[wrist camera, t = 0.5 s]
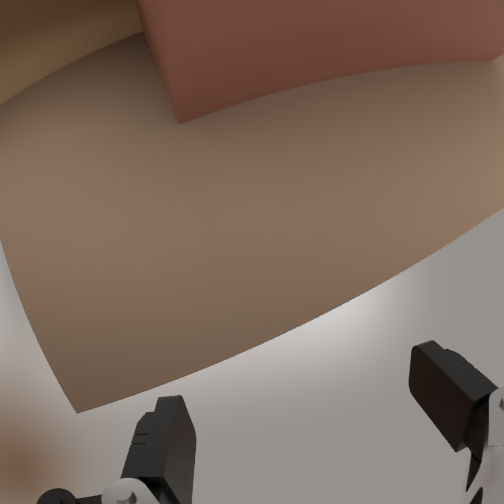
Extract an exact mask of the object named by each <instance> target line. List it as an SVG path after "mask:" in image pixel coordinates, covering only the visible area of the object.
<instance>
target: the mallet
mask: <svg viewBox="0 0 504 504" xmlns="http://www.w3.org/2000/svg"><path fill="white" fill-rule="evenodd" d="M142 31H143V33H144V35H145V38H146V41H147V43H148V46H149V48H150V51H151V53H152V56H153V59H154V61H155V64H156V66H157V69H158V71H159V74H160V76H161V79H162V81H163V84H164V86H165V89H166V91H167V94H168V96H169V99H170V101H171V104H172V106H173V109H174V111H175V114H176V116H177V119H178V121H179V124H182V123H185V122H187V121H190V120H193V119H195V118H198V117H201V116H204V115H206V114H209V113H212V112H215V111H218V110H221V109H224V108H227V107H230V106H233V105H236V104H239V103H242V102H245V101H249V100H252V99H255V98H259V97H262V96H266V95H269V94H273V93H276V92H280V91H284V90H287V89H291V88H295V87H299V86H303V85H307V84H311V83H316V82H320V81H325V80H329V79H334V78H339V77H344V76H349V75H354V74H360V73H365V72H371V71H377V70H384V69H391V68H398V67H406V66H414V65H423V64H434V63H446V62H462V61H493V60H495V59H496V58H498V57H500V56H501V55H503V54H504V0H0V105H1V104H3V103H4V102H6V101H7V100H9V99H10V98H12V97H13V96H15V95H16V94H18V93H19V92H21V91H22V90H24V89H26V88H27V87H29V86H30V85H32V84H34V83H35V82H37V81H39V80H40V79H42V78H44V77H46V76H47V75H49V74H51V73H53V72H54V71H56V70H58V69H60V68H62V67H64V66H66V65H67V64H69V63H71V62H73V61H75V60H77V59H79V58H81V57H83V56H85V55H87V54H90V53H92V52H94V51H96V50H98V49H100V48H103V47H105V46H107V45H110V44H112V43H114V42H117V41H119V40H122V39H124V38H127V37H129V36H132V35H134V34H137V33H140V32H142Z"/></svg>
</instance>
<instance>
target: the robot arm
mask: <svg viewBox="0 0 504 504" xmlns="http://www.w3.org/2000/svg"><path fill="white" fill-rule="evenodd" d="M409 389H410V392H411V394H412V396H413V397H414V398H415V400H416V401H417V402H418V404H419V405H420V406H421V407H422V409H423V410H424V411H425V413H426V414H427V415H428V417H429V418H430V419H431V420H432V422H433V423H434V424H435V426H436V427H437V428H438V429H439V431H440V432H441V434H442V435H443V436H444V437H445V439H446V440H447V441H448V443H449V444H450V445H451V447H452V448H453V449H454V451H455V452H458V451H460V450H462V449H464V448H466V447H468V448H469V450H470V452H469V455H468V460H467V467H466V473H465V480H464V485H463V490H462V495H461V499H460V503H459V504H504V387H502V388H498V387H497V386H496V385H494V384H493V383H492V382H491V381H490V380H489V379H488V378H487V377H485V376H484V375H483V374H482V373H481V372H480V371H479V370H477V369H476V368H474V366H473V365H472V364H470V363H469V362H467V360H466V359H465V358H464V357H462V356H461V355H460V354H459V353H456V352H454V351H452V350H449V349H445V350H444V349H443V348H442V347H441V346H440V345H438V344H437V343H436V342H435V341H433V340H431V341H428V342H425V343H422V344H419V345H416V346H414V347H413V348H412V351H411V362H410V372H409ZM131 443H132V445H130V448H129V452H128V455H127V458H126V461H125V465H124V468H123V472H122V475H121V478H120V479H118V480H115V481H114V482H112V483H110V484H109V485H108V486H107V487H106V488H105V489H104V491H103V493H102V494H101V495H97V496H91V497H85V498H78V499H76V498H75V496H74V495H73V494H72V493H71V492H69V491H68V490H65V489H61V488H58V489H57V488H56V489H51V490H49V491H47V492H45V493H44V494H43V495H42V496H41V497H40V498H39V500H38V502H37V504H192V490H193V477H194V465H195V453H196V434H195V429H194V426H193V423H192V421H191V418H190V416H189V413H188V411H187V408H186V405H185V402H184V400H183V398H182V396H181V395H177V396H166V397H159V398H158V400H157V403H156V408H155V411H154V412H146V413H145V415H144V416H143V417H142V418H141V419H140V420H139V421H138V423H137V426H136V429H135V433H134V436H133V439H132V442H131Z"/></svg>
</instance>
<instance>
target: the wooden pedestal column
mask: <svg viewBox="0 0 504 504" xmlns="http://www.w3.org/2000/svg"><path fill="white" fill-rule="evenodd" d="M503 207H504V54H503V55H501V56H500V57H498V58H496V59H495V60H493V61H462V62H446V63H434V64H423V65H414V66H406V67H398V68H391V69H384V70H377V71H371V72H365V73H360V74H354V75H349V76H344V77H339V78H334V79H329V80H325V81H320V82H316V83H311V84H307V85H303V86H299V87H295V88H291V89H287V90H284V91H280V92H276V93H273V94H269V95H266V96H262V97H259V98H255V99H252V100H249V101H245V102H242V103H239V104H236V105H233V106H230V107H227V108H224V109H221V110H218V111H215V112H212V113H209V114H206V115H204V116H201V117H198V118H195V119H193V120H190V121H187V122H185V123H182V124H179V121H178V119H177V116H176V114H175V111H174V109H173V106H172V104H171V101H170V99H169V96H168V94H167V91H166V89H165V86H164V84H163V81H162V79H161V76H160V74H159V71H158V69H157V66H156V64H155V61H154V59H153V56H152V53H151V51H150V48H149V46H148V43H147V41H146V38H145V35H144V33H143V31H142V32H140V33H137V34H134V35H132V36H129V37H127V38H124V39H122V40H119V41H117V42H114V43H112V44H110V45H107V46H105V47H103V48H100V49H98V50H96V51H94V52H92V53H90V54H87V55H85V56H83V57H81V58H79V59H77V60H75V61H73V62H71V63H69V64H67V65H66V66H64V67H62V68H60V69H58V70H56V71H54V72H53V73H51V74H49V75H47V76H46V77H44V78H42V79H40V80H39V81H37V82H35V83H34V84H32V85H30V86H29V87H27V88H26V89H24V90H22V91H21V92H19V93H18V94H16V95H15V96H13V97H12V98H10V99H9V100H7V101H6V102H4V103H3V104H1V105H0V239H1V243H2V246H3V250H4V253H5V256H6V260H7V263H8V266H9V269H10V272H11V275H12V278H13V281H14V284H15V287H16V289H17V292H18V295H19V297H20V300H21V303H22V305H23V308H24V310H25V313H26V315H27V318H28V320H29V322H30V325H31V327H32V329H33V332H34V334H35V336H36V338H37V341H38V343H39V345H40V347H41V349H42V351H43V353H44V355H45V357H46V359H47V361H48V363H49V365H50V367H51V369H52V371H53V373H54V375H55V376H56V378H57V380H58V382H59V384H60V386H61V388H62V389H63V391H64V393H65V395H66V396H67V398H68V400H69V401H70V403H71V405H72V407H73V408H74V410H75V411H76V413H80V412H84V411H87V410H90V409H93V408H97V407H100V406H103V405H106V404H109V403H112V402H115V401H118V400H121V399H124V398H127V397H130V396H133V395H136V394H138V393H141V392H144V391H147V390H150V389H152V388H155V387H158V386H160V385H163V384H166V383H168V382H171V381H174V380H176V379H179V378H181V377H184V376H187V375H189V374H192V373H194V372H197V371H199V370H202V369H204V368H207V367H209V366H211V365H214V364H216V363H218V362H221V361H223V360H226V359H228V358H230V357H233V356H235V355H237V354H240V353H242V352H244V351H247V350H249V349H251V348H253V347H255V346H258V345H260V344H262V343H264V342H267V341H269V340H271V339H273V338H275V337H277V336H280V335H282V334H284V333H286V332H287V331H290V330H292V329H294V328H296V327H299V326H301V325H303V324H305V323H307V322H309V321H311V320H313V319H315V318H317V317H319V316H320V315H323V314H325V313H327V312H329V311H331V310H332V309H335V308H336V307H338V306H340V305H342V304H344V303H346V302H348V301H350V300H352V299H354V298H356V297H358V296H359V295H361V294H363V293H365V292H367V291H369V290H370V289H372V288H374V287H376V286H378V285H379V284H381V283H383V282H385V281H387V280H388V279H390V278H392V277H394V276H396V275H397V274H399V273H401V272H402V271H404V270H406V269H407V268H409V267H411V266H413V265H414V264H416V263H418V262H420V261H421V260H423V259H424V258H426V257H428V256H429V255H431V254H433V253H434V252H436V251H437V250H439V249H441V248H442V247H444V246H446V245H447V244H449V243H450V242H452V241H454V240H455V239H457V238H458V237H460V236H461V235H463V234H464V233H466V232H468V231H469V230H471V229H472V228H474V227H475V226H477V225H478V224H480V223H481V222H483V221H484V220H486V219H487V218H489V217H490V216H492V215H493V214H494V213H496V212H497V211H499V210H500V209H502V208H503Z"/></svg>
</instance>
